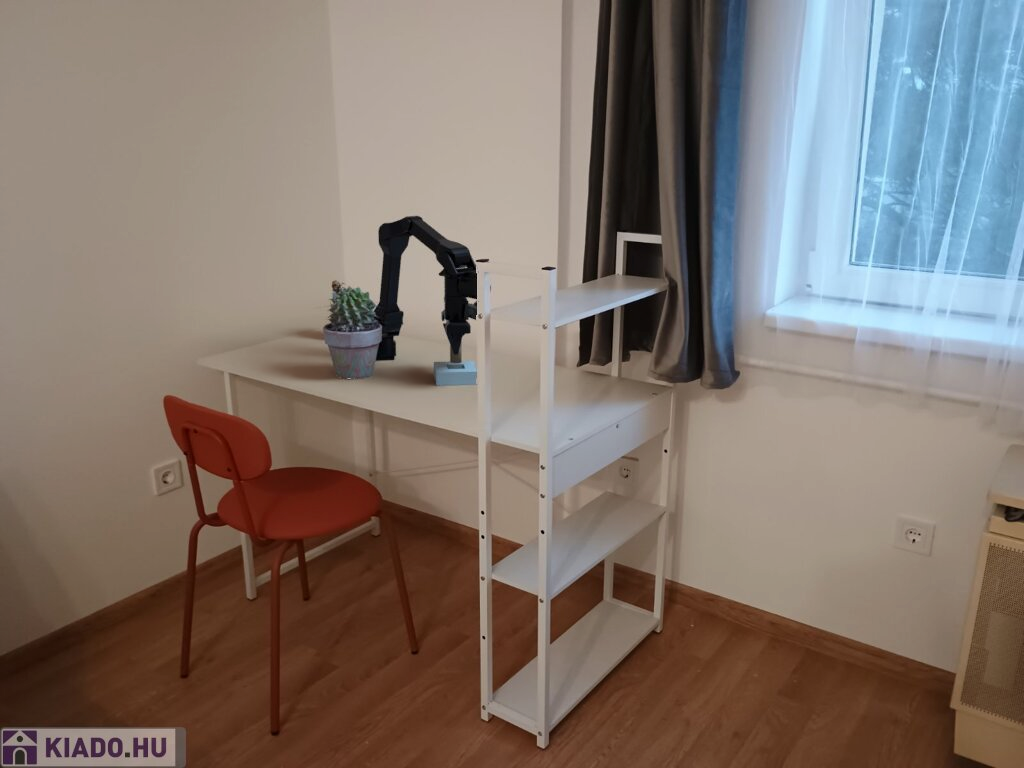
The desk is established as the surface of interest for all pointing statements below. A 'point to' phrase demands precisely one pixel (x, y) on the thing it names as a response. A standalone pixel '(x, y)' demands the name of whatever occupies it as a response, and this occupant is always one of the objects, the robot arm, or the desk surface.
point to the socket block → (455, 373)
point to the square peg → (456, 357)
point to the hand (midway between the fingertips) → (455, 352)
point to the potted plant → (352, 332)
